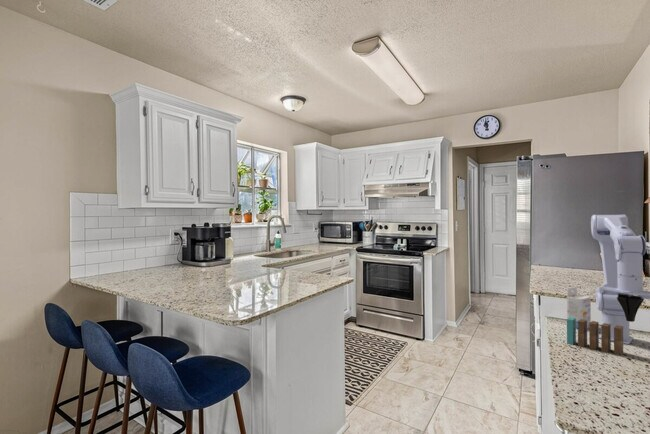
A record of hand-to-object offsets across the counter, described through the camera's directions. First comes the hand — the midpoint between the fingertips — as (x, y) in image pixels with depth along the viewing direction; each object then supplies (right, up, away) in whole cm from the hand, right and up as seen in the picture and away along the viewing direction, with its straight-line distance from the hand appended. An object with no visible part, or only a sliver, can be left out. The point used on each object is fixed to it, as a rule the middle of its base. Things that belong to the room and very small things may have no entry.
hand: (630, 320), depth 102 cm
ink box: (+6, -11, +29) cm, 32 cm away
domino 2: (-8, -11, +9) cm, 16 cm away
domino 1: (-10, -11, +11) cm, 18 cm away
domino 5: (-2, -11, +2) cm, 11 cm away
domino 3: (-6, -11, +6) cm, 14 cm away
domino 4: (-4, -11, +4) cm, 12 cm away
